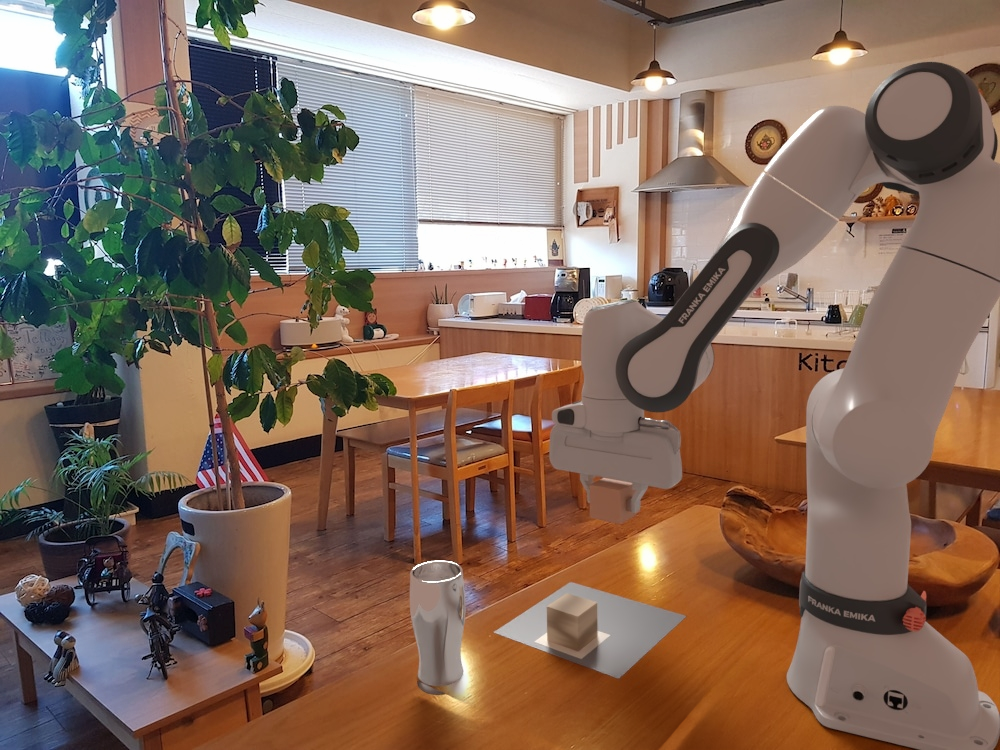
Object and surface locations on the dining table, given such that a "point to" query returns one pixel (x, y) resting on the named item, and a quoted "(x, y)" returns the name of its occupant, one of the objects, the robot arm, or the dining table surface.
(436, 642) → the beer glass
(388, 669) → the dining table surface
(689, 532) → the dining table surface
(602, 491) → the terracotta block
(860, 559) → the robot arm
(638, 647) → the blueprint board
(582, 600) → the maple block
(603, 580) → the dining table surface
